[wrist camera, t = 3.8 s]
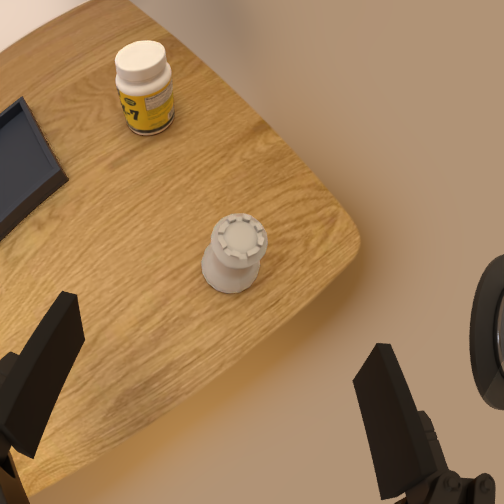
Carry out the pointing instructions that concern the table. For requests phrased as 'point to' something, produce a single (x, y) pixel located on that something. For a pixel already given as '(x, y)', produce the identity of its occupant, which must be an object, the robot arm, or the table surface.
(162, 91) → the supplement bottle
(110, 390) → the table surface
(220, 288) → the rook chess piece
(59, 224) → the table surface
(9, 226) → the dark tray
